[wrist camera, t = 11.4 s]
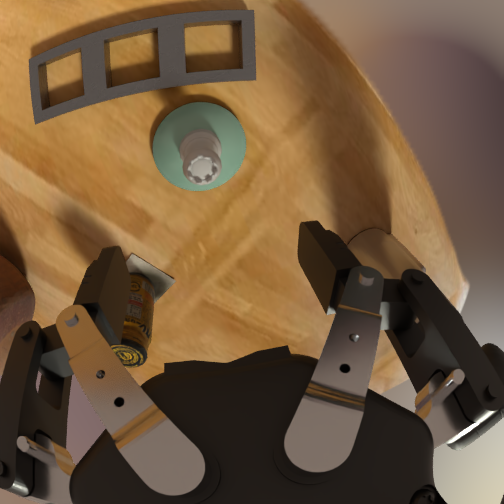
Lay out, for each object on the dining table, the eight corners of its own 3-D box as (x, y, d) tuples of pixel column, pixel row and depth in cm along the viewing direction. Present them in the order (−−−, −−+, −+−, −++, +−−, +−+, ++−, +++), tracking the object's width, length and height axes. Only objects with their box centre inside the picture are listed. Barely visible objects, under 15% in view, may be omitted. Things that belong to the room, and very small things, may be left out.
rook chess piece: (226, 159, 29) (237, 185, 22) (187, 173, 29) (186, 203, 22) (214, 122, 26) (221, 135, 20) (173, 136, 26) (166, 155, 19)
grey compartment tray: (250, 14, 20) (254, 10, 18) (252, 80, 25) (256, 80, 23) (37, 59, 17) (28, 59, 15) (43, 121, 21) (35, 124, 20)
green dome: (243, 98, 26) (244, 98, 25) (246, 183, 31) (247, 185, 31) (148, 109, 24) (147, 109, 24) (160, 194, 30) (160, 196, 29)
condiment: (105, 290, 36) (89, 357, 26) (132, 252, 34) (116, 322, 24) (145, 312, 40) (140, 378, 30) (176, 279, 37) (176, 349, 28)
